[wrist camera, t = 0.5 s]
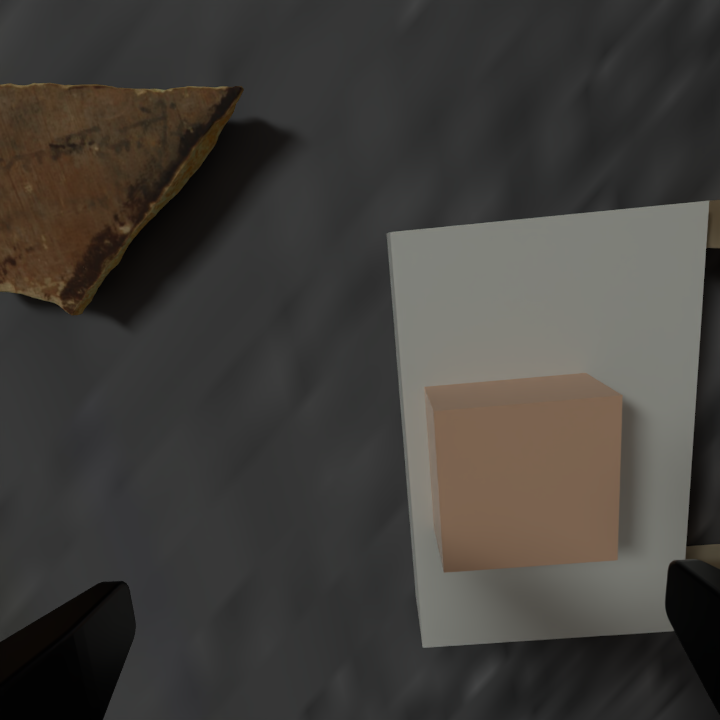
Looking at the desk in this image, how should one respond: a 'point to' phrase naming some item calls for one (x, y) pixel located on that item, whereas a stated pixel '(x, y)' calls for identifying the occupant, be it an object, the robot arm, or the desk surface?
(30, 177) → the shard
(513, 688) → the desk surface
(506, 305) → the plate
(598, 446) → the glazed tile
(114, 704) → the desk surface
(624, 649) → the desk surface
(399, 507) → the desk surface
